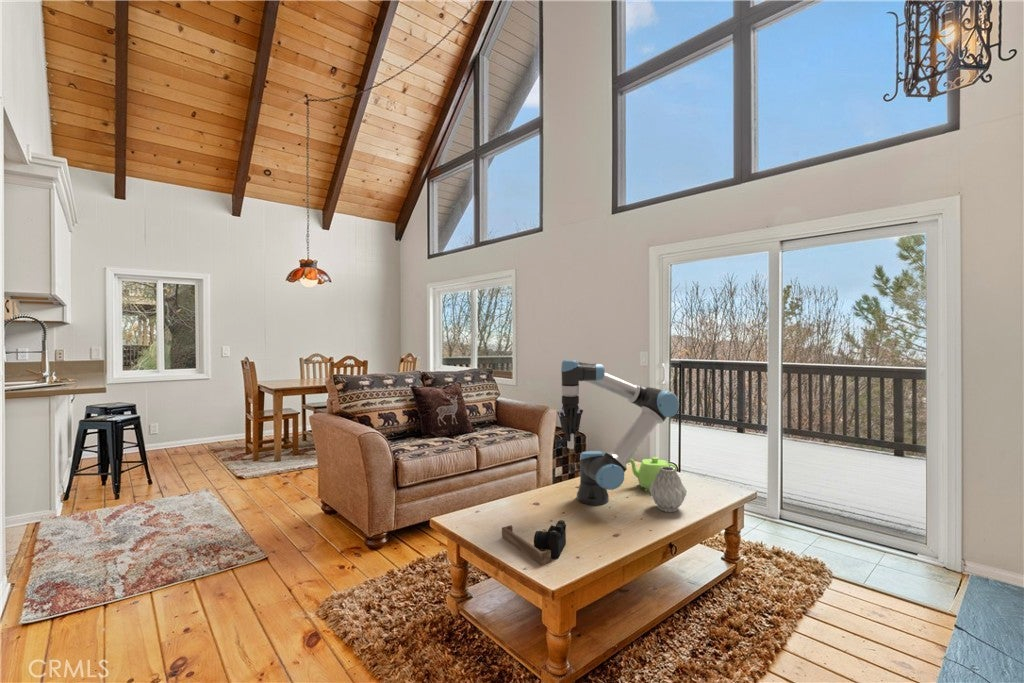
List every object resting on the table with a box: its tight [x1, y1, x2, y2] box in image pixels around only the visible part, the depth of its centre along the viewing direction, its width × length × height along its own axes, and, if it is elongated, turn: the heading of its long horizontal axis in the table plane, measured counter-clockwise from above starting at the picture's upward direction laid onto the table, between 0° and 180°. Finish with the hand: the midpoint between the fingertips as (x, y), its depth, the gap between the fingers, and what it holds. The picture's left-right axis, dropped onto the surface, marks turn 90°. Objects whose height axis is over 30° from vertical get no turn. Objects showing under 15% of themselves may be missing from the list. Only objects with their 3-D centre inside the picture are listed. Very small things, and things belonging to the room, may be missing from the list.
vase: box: [649, 466, 688, 513], centre depth 212 cm, size 16×16×18 cm
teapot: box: [628, 456, 678, 492], centre depth 243 cm, size 25×22×16 cm
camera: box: [533, 519, 567, 560], centre depth 175 cm, size 14×11×10 cm
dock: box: [501, 524, 552, 566], centre depth 175 cm, size 4×26×4 cm, turn 33°
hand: (570, 448), depth 207 cm, fingers closed
